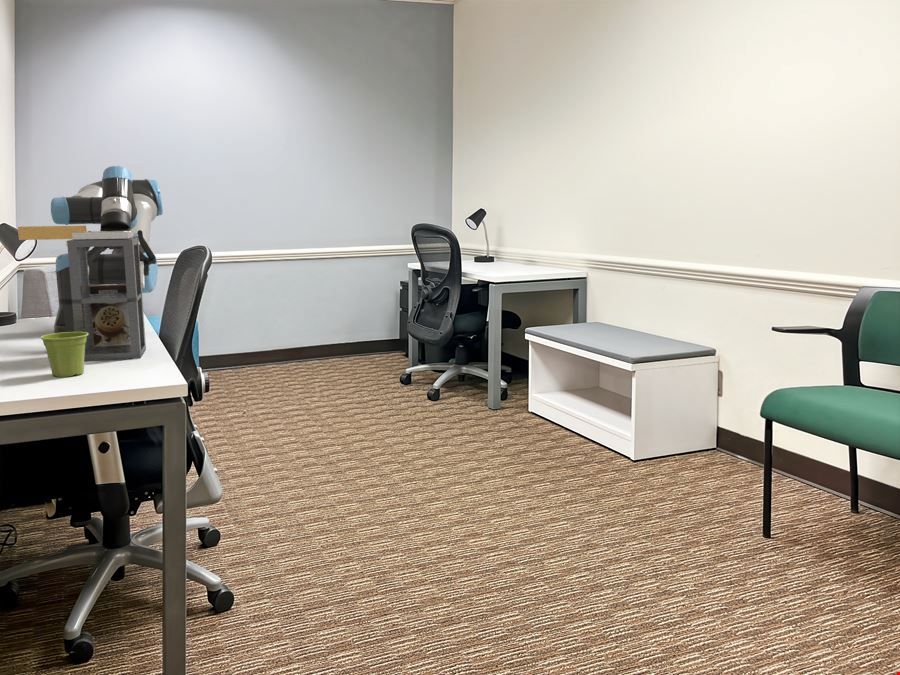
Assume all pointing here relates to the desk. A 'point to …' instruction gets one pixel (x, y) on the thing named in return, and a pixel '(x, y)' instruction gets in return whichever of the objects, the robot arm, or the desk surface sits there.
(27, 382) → the desk surface
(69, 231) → the blanking panel
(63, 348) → the plant pot
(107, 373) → the desk surface
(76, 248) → the rack
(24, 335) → the desk surface
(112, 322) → the coffee box
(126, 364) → the desk surface
